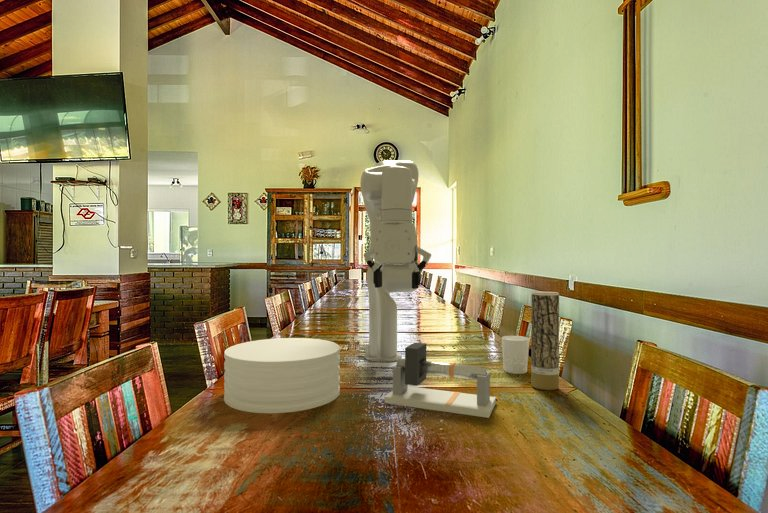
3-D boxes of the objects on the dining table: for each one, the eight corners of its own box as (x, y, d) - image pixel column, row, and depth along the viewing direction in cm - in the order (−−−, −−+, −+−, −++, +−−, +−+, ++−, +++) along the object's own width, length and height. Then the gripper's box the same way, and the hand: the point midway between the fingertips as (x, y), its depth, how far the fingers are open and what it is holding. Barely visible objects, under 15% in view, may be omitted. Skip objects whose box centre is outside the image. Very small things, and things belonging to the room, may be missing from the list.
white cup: (532, 374, 128) (532, 340, 128) (505, 374, 128) (505, 340, 128) (524, 368, 136) (524, 335, 136) (498, 367, 136) (498, 335, 136)
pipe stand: (384, 403, 103) (384, 368, 103) (399, 391, 112) (399, 359, 112) (488, 417, 94) (488, 380, 94) (495, 403, 103) (495, 369, 103)
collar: (405, 384, 103) (405, 347, 103) (414, 376, 109) (414, 342, 109) (417, 385, 102) (417, 348, 102) (426, 378, 108) (426, 343, 108)
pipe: (396, 372, 106) (396, 359, 106) (400, 369, 109) (400, 357, 109) (484, 382, 98) (484, 368, 98) (486, 378, 100) (486, 365, 100)
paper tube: (561, 392, 112) (561, 293, 112) (533, 390, 113) (533, 293, 113) (556, 384, 119) (556, 291, 119) (529, 383, 120) (530, 291, 120)
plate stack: (198, 401, 104) (198, 353, 104) (278, 373, 129) (278, 334, 129) (291, 422, 91) (291, 367, 91) (360, 387, 116) (360, 343, 116)
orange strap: (444, 404, 98) (444, 367, 98) (455, 392, 107) (455, 358, 107) (450, 405, 97) (450, 368, 97) (460, 392, 106) (460, 358, 106)
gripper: (358, 218, 108) (358, 287, 108) (426, 215, 101) (425, 290, 101) (370, 220, 115) (370, 286, 115) (435, 218, 108) (434, 288, 108)
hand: (396, 287), depth 108 cm, fingers open, 9 cm apart
